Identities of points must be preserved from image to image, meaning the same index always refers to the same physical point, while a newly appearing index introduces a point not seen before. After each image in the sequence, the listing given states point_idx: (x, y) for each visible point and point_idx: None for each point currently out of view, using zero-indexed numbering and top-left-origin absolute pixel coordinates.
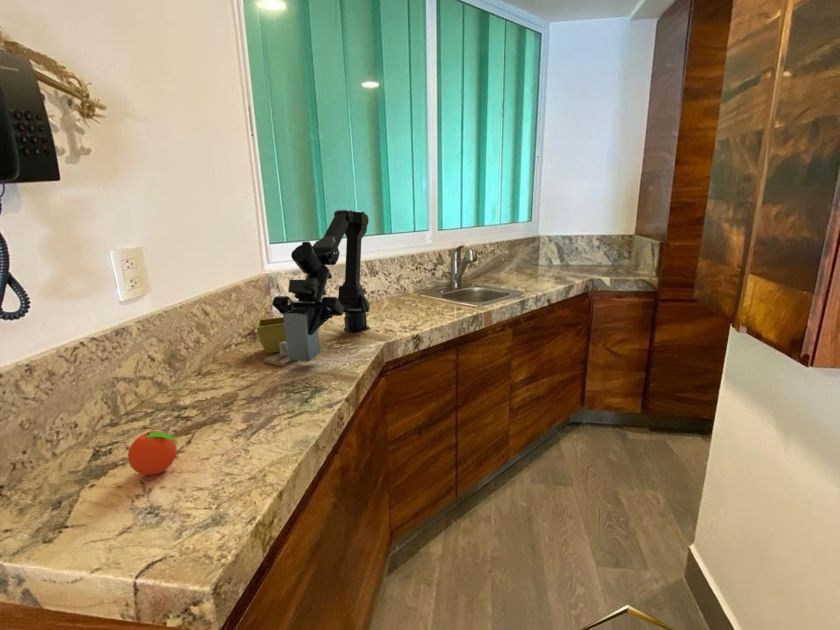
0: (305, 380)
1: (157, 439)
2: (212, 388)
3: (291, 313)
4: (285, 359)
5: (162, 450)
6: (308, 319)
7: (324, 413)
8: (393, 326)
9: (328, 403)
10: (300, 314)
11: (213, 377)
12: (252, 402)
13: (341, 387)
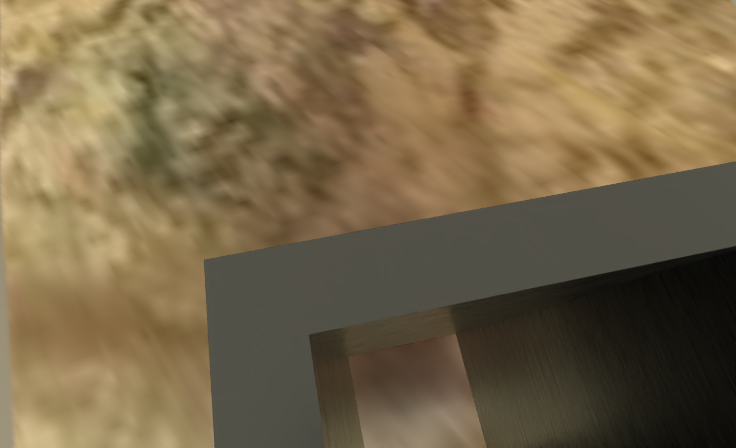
0: (271, 226)
1: None
2: (584, 47)
3: (632, 242)
4: None
5: None
6: None
7: (28, 35)
8: None
9: (46, 90)
10: (307, 245)
11: (700, 116)
12: (335, 18)
13: (52, 220)
